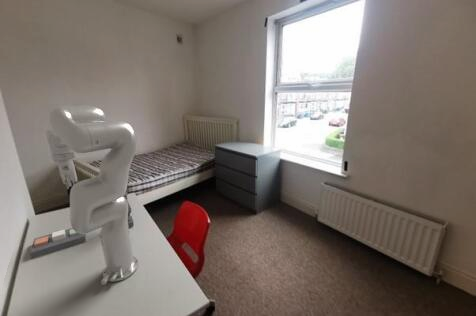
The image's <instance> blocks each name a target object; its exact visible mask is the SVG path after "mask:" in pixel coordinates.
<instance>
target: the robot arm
mask: <svg viewBox="0 0 476 316" xmlns="http://www.w3.org/2000/svg"><path fill="white" fill-rule="evenodd" d="M48 118H49V120H48V121H49V124H50V127H51V128H49V129H46V132H45V135H46V138H47V142H48V143H47V144H48V146H49V151H50V154H51V158H52V162H53V163H57V168H58V170H59V174H60V178H61V180H62V183H63V184H64V185H66V192H67V195H68V198H69V218H70V219H69V220H70V225H71V228H73V229H74V231H75V232H77V233H79V234H85V235H86V234H89V233H92V232H94V231H96V230H100V232H99V238H100V242H101V247H102V248H101V249H102V253H103V259H104V263H105V267H104V268H103V271H102V277H103V278H102V279H101V281H100V284H101V285H105V286H106V284H107V283H108V282H111V283H112V282H114V283H115V282H119V281H122V280H125V279H127V278H129V277H131V275H133V274H134V273H135V272H136V270H138V268H139V260H138V258H137V257H135V256H134V252H133V248H132V247H133V246H132V242H131V235H130V229H129V227H128V203H129V201H128V199H127V200H126V198H125V197H124V195H125V193H126V192H127V191H126V189H127V190H128V183H129V176H130V169H131V166H132V162H133V160H134V157H135V154H136V151H137V137H136V133H135V131H134V128H133V127H132V125H131V124H130V123H128V122H125V121H122V120H121V121H120V120H107V117H106V114H105V112H104V111H103V110H101V109H100V108H99V107H96V106H92V105H61V106H60V105H59V106H56V107H54V108H53V109H52V110H51V111H50V113H49V117H48ZM109 149H110V150H109ZM103 150H109V151H108V152H107V153H106V155H104V157H103V159H101V161H100V165H99V173H98V174H97V175H96V176H94V177H91V178H88V179H84V180H81V181H78V174H77V171H76V167H75V164H74V163H75V162H74V160H76V157H75V153H77V154H87V153H92V152H99V151H103ZM127 201H128V202H127Z"/></svg>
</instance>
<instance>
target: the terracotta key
mask: <svg viewBox="0 0 476 316" xmlns="http://www.w3.org/2000/svg"><path fill="white" fill-rule="evenodd" d="M38 238H39V237H38ZM48 243H49V237H48V236H47V237H43V238H39V239H36V240H35V243H34V246H35V247H38V246H42V245H45V244H48Z"/></svg>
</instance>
